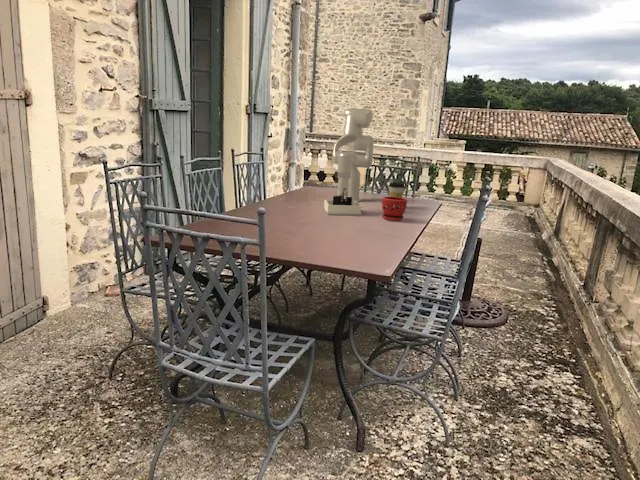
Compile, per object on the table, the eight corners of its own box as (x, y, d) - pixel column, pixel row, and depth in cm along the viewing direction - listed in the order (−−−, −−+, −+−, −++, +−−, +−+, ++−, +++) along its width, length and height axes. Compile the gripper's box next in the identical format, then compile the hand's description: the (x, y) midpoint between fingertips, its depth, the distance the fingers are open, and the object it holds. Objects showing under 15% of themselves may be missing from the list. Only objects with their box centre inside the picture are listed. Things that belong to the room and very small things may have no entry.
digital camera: (352, 208, 279) (352, 196, 277) (350, 210, 273) (351, 198, 272) (334, 207, 281) (335, 195, 279) (332, 208, 276) (333, 196, 274)
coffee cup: (403, 209, 297) (406, 184, 294) (387, 208, 298) (389, 184, 294) (401, 206, 307) (403, 182, 303) (386, 205, 307) (388, 181, 303)
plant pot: (404, 222, 258) (406, 200, 255) (380, 220, 260) (381, 198, 257) (405, 218, 270) (407, 197, 267) (382, 216, 273) (383, 195, 270)
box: (324, 209, 284) (324, 199, 283) (355, 210, 287) (355, 200, 285) (327, 214, 268) (328, 205, 267) (360, 215, 271) (361, 206, 269)
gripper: (335, 173, 280) (333, 203, 285) (339, 177, 264) (338, 209, 268) (348, 173, 281) (346, 204, 286) (353, 177, 265) (351, 209, 269)
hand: (342, 206), depth 277 cm, fingers closed on digital camera, 6 cm apart
